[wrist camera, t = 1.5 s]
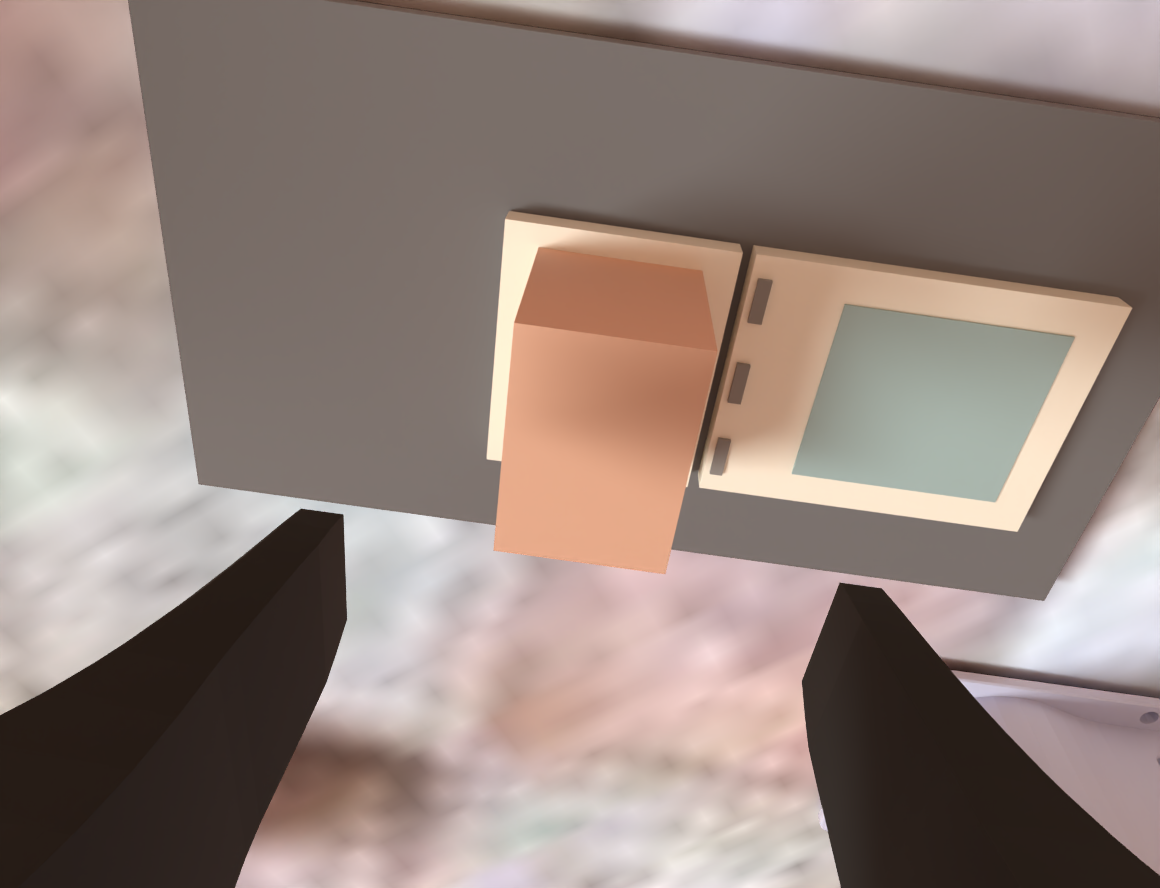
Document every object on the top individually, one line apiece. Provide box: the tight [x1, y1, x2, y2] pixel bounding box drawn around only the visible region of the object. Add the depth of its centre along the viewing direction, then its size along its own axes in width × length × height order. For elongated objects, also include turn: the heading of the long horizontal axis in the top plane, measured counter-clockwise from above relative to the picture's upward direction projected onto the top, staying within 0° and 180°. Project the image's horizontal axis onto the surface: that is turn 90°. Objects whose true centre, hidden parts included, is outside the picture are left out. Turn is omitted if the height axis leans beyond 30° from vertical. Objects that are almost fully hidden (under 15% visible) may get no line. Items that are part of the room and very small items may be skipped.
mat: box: [128, 0, 1160, 601], centre depth 19 cm, size 23×12×1 cm, turn 83°
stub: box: [487, 211, 743, 574], centre depth 17 cm, size 5×6×5 cm
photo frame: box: [698, 245, 1132, 532], centre depth 19 cm, size 8×6×1 cm
